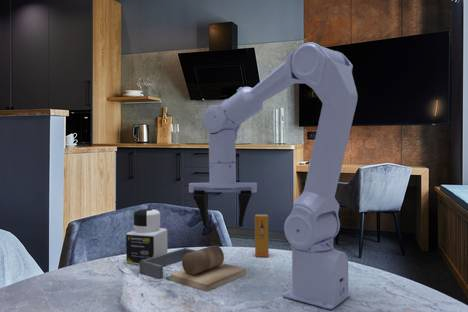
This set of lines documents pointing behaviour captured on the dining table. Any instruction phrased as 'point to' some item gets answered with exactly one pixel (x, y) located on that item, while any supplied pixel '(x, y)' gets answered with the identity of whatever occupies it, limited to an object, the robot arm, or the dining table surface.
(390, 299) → the dining table surface
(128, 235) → the medicine bottle
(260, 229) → the supplement box
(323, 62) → the robot arm
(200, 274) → the tan flat square slab
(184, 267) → the roller
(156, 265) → the gray u-shaped frame
